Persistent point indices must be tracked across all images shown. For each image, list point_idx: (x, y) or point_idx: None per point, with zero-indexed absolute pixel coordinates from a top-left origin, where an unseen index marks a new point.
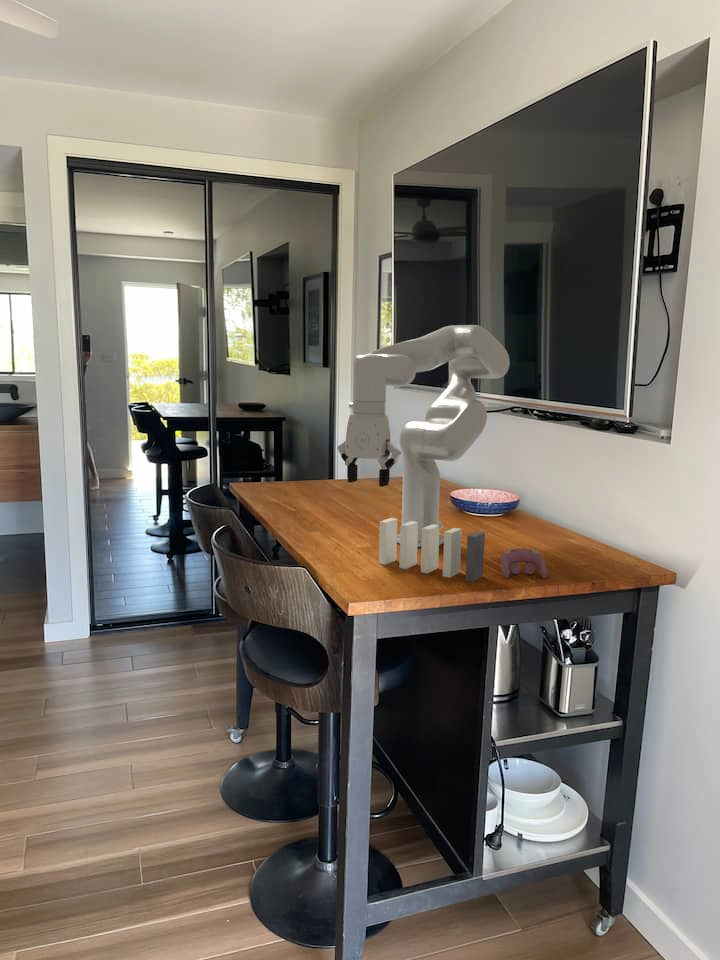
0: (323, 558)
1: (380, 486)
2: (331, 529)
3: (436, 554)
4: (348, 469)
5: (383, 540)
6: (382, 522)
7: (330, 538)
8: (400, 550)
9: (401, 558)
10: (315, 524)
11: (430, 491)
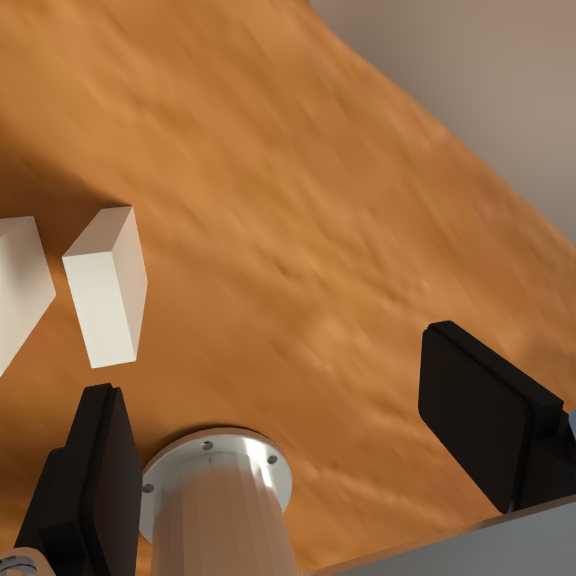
0: (334, 121)
1: (105, 386)
2: None
3: None
4: (523, 379)
5: (97, 229)
6: (89, 252)
7: None
8: (5, 233)
9: (10, 225)
10: None
11: None
